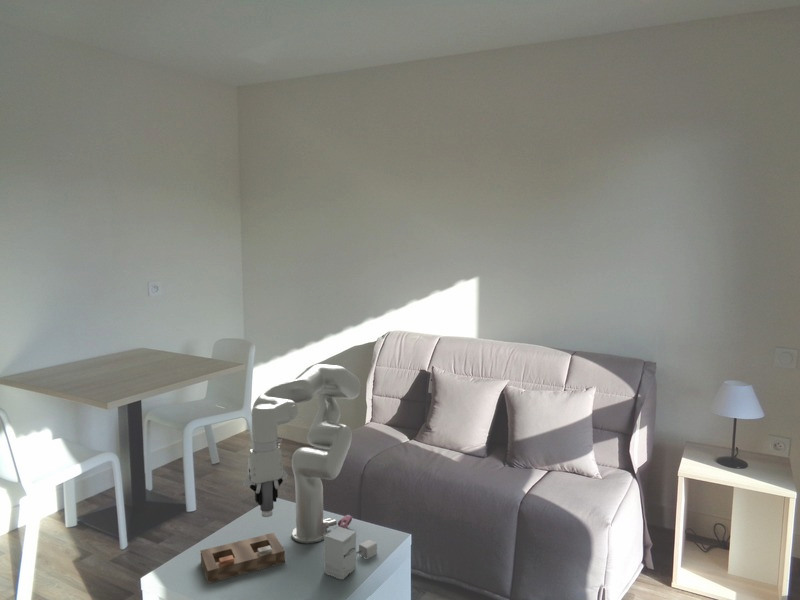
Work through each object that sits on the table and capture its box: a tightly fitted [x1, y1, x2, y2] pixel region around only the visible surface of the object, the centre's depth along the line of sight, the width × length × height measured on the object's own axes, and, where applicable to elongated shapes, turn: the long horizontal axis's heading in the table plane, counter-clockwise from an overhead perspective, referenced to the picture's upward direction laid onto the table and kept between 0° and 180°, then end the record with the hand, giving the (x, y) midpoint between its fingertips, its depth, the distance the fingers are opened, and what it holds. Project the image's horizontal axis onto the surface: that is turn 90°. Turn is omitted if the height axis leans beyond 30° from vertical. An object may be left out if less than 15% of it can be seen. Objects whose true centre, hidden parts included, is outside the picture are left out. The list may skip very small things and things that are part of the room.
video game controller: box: [337, 513, 354, 530], centre depth 207 cm, size 10×5×7 cm, turn 169°
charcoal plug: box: [259, 481, 275, 518], centre depth 180 cm, size 4×4×12 cm
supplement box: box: [323, 526, 357, 580], centre depth 183 cm, size 7×7×13 cm
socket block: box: [200, 532, 286, 584], centre depth 188 cm, size 24×13×6 cm, turn 118°
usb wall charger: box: [356, 539, 378, 559], centre depth 192 cm, size 4×7×4 cm, turn 137°
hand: (266, 501), depth 181 cm, fingers closed on charcoal plug, 4 cm apart
